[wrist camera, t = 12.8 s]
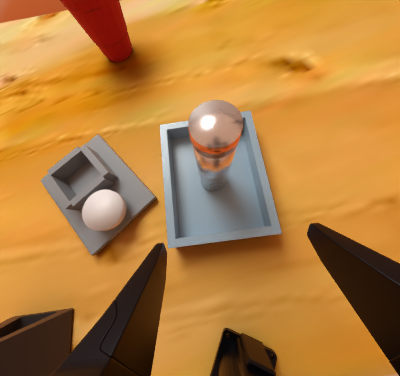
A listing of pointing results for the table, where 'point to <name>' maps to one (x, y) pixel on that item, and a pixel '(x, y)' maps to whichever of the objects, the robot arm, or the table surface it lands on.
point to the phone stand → (35, 343)
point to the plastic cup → (103, 25)
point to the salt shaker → (214, 140)
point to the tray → (215, 200)
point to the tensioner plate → (91, 180)
